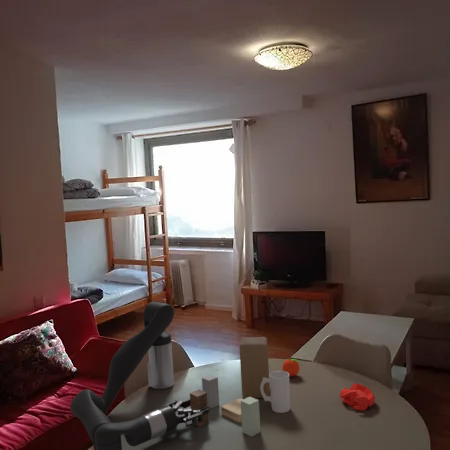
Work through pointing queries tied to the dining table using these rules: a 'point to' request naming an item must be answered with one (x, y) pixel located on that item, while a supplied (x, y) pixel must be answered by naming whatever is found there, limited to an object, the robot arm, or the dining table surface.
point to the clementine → (291, 367)
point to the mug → (278, 391)
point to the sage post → (250, 416)
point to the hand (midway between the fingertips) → (200, 405)
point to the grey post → (211, 390)
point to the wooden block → (254, 366)
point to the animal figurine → (358, 396)
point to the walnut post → (199, 404)
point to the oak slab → (233, 410)
